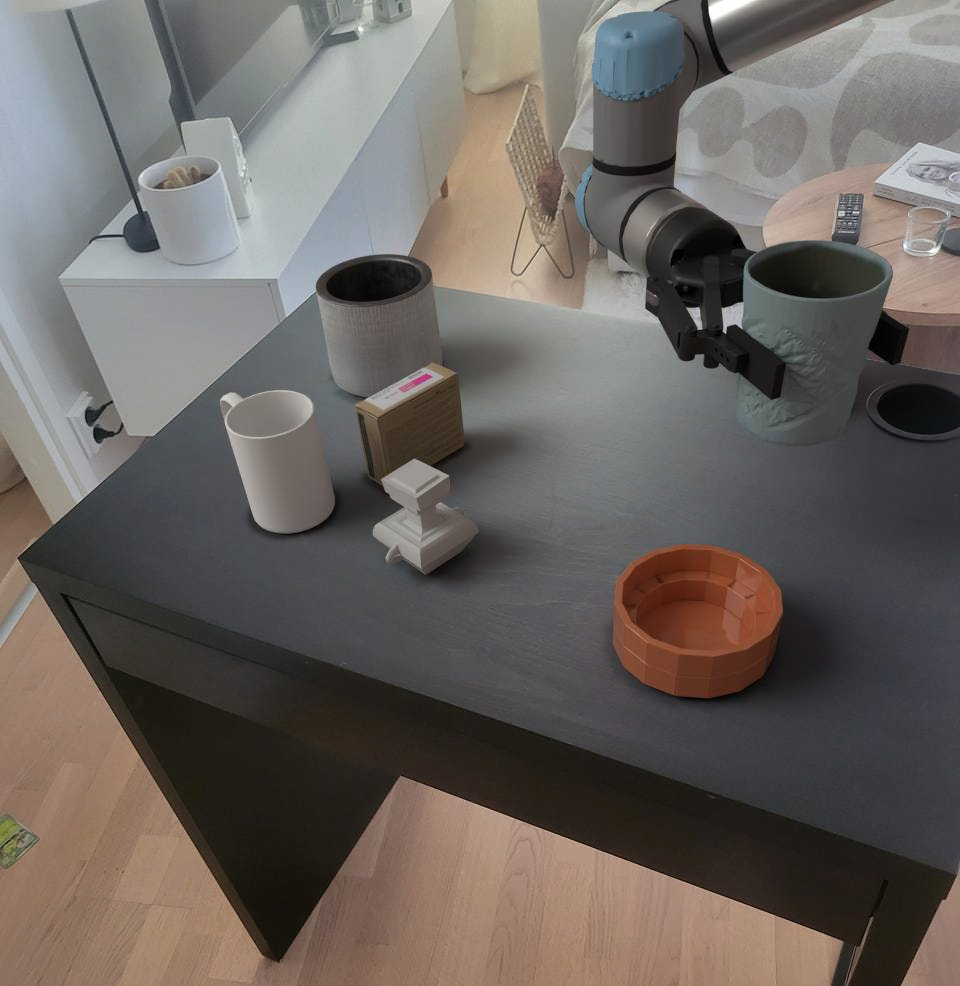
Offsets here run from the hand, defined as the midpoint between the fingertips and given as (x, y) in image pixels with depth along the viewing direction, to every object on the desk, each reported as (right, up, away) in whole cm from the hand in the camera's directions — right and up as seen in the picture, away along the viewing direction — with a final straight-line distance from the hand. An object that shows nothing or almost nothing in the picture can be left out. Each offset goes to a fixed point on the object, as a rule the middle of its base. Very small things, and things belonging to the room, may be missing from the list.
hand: (840, 364), depth 68 cm
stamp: (-30, -12, +17) cm, 37 cm away
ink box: (-32, -2, +27) cm, 42 cm away
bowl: (-9, -20, +6) cm, 23 cm away
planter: (-36, +10, +40) cm, 55 cm away
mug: (-45, -6, +24) cm, 51 cm away
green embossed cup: (-1, -2, +8) cm, 8 cm away
